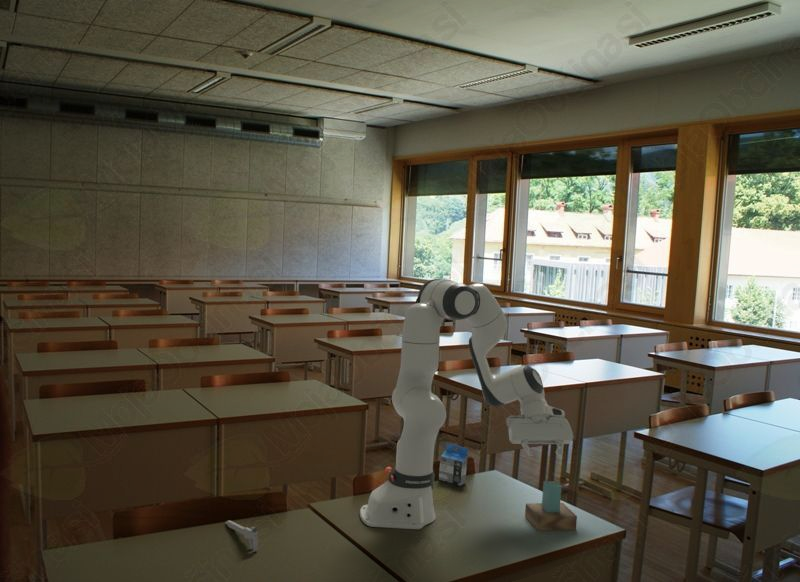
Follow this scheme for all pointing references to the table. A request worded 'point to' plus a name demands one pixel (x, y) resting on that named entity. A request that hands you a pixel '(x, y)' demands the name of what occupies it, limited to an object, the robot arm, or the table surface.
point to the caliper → (246, 534)
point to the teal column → (551, 496)
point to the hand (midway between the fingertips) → (545, 455)
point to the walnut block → (550, 517)
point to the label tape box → (453, 465)
